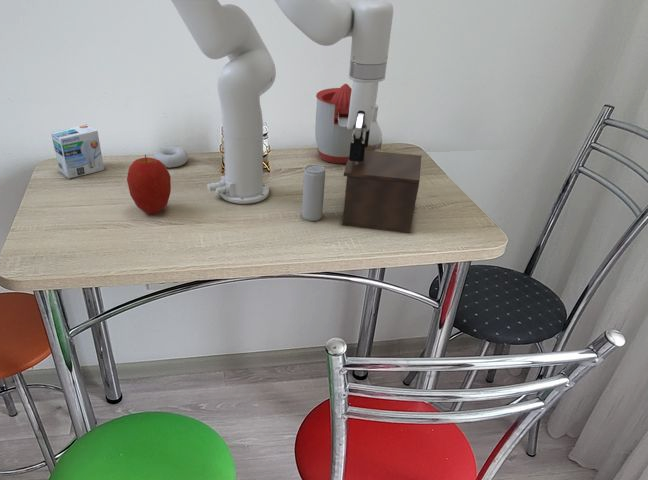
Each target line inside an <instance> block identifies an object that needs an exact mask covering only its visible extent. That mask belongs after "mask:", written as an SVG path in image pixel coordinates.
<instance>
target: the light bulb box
mask: <svg viewBox="0 0 648 480" xmlns="http://www.w3.org/2000/svg"><path fill="white" fill-rule="evenodd" d="M50 134H51V139H52V143H53V149H54V152H55V157H56V160H57V165H58V171H59V172H60V173H61V174H63V175H64V176H65V177H66V178H67V179H70V180H71V179H75V178H78V177H82V176H85V175H89V174H93V173H97V172H102V171H104V170H105V166H104V161H103V160H104V159H103V155H102V148H101V144H100V138H99V131H98V129H95V128H94V127H92V126H91V125H88V124H83V125H77V126H73V127H67V128H64V129H60V130H55V131H51V132H50Z"/></svg>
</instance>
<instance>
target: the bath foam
mask: <svg viewBox="0 0 648 480" xmlns="http://www.w3.org/2000/svg"><path fill="white" fill-rule="evenodd" d="M378 112H379V105H378V104H377V103H376V105H375V111H374V115H373V120H372V123H371V126H370V132H369V140H368V146H367V147H365V150H367V151H378V152H382V143H383V134H382V130H381V126H380V124H379V122H378V121H377V118H378Z"/></svg>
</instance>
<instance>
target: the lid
mask: <svg viewBox="0 0 648 480" xmlns="http://www.w3.org/2000/svg"><path fill="white" fill-rule="evenodd" d="M421 169H422V155H420V154H409V153H399V152H390V151H389V152H387V151H381V152H378V151H367V150H365V154H364V161H363V162H357V161H350V160H349V159H348V162H347V163H346V165H345V168H344V170H343V177H347V176H349V177H359V178H369V179H379V180H389V181H399V182H409V183H419V184H420V181H421V171H422V170H421Z"/></svg>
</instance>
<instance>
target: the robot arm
mask: <svg viewBox="0 0 648 480" xmlns="http://www.w3.org/2000/svg"><path fill="white" fill-rule="evenodd" d="M170 1H171V3H172V4H173V6H174V7H175V9H176V11H177V12H178V14H179V16H180V18H181V20H182V21H183V23H184V25H185V26H186V28H187V30H188V32H189V33H190V35H191V37H192V38H193V40H194V41H195V44H196V45H197V47H198V48H199V49H200V51H201V52H202V54H203V55H204V56H205V57H207V58H209V59H210V60H219V59H224V58H225V57H227V58H228V60H229V61H228V62H227V63H226V64H225V65H224V66H223V67H222V69H220V72H219V74H218V78H217V94H218V98H219V103H220V108H221V109H220V110H221V117H222V118H221V120H222V134H223V135H222V136H223V155H224V156H223V158H224V159H223V160H224V175H221V179H219V180H218V182H211V183H207V184H206V189H207V191H208V192H215V193H216V194H217V195H219V196H220V198H222V199H223V200H224V201H227V202H230V203H233V204H241V205H248V204H255V203H259V202H262V201H264V200H265V199H267V198H268V197H269V196H270V188H269V186H268V185H267V184H266V183H264V120H263V111H262V108H261V101H260V100H261V99H260V98H261V96H262V95H264V94H265V93H266V92H268V91H269V90H270V89H271V88H272V87H273V85H274V82H275V79H276V76H277V75H276V74H277V69H276V65H275V61H274V59H273V57H272V55H271V53H270V51H269V50H268V48H267V46H266V44H265V42H264V40H263V39H262V37H261V35H260V34H259V33H260V32H259V31H258V30H257V27H256V26H255V24H254V23H253V21H252V19H251V18H250V16H249V15H248V14H247V13H246V12H245V11H244V9H242V8H241V7H240V6H238V5H236V4H232V3H226V4H221V3H220V1H219V0H170ZM274 2H275V3H276V5H277V6H278V8H279V10H280V11H281V12H282V13H283V15H284V16H285V17H286V18H287V20H288V21H290V23H292V24H293V25H294V26H295V28H297V29H298V30H299V31H301V33H302V34H304V35H305V36H306V37H307V38H308V39H309V40H311V41H312V42H314V43H315V44H316V45H319V46H323V47H328V46H329V47H330V46H333V45H335V44H336V43H339V42H340V41H341V40H343V39H345V38H348V37H351V44H350V56H349V57H350V58H349V68H348V79H349V80H350V81H351V80H352V84H351V88H352V90H351V98H350V107H349V116H348V124H347V129H348V130H350V129H352V128H353V126H354V128H353V135H352V142H351V144H350V154H349V160H350V161H357V162H363V161H364V154H365V147H367V146H368V140H369V132H370V126H371V123H372V120H373V115H374V111H375V105H376V104H377V98H378V91H379V83H380V82H383V81H385V79H386V74H387V67H388V66H387V64H388V56H389V51H390V50H389V49H390V41H391V33H392V27H393V26H392V25H393V18H394V5H393V4H392V3H391V2H389V1H388V0H274Z"/></svg>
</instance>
